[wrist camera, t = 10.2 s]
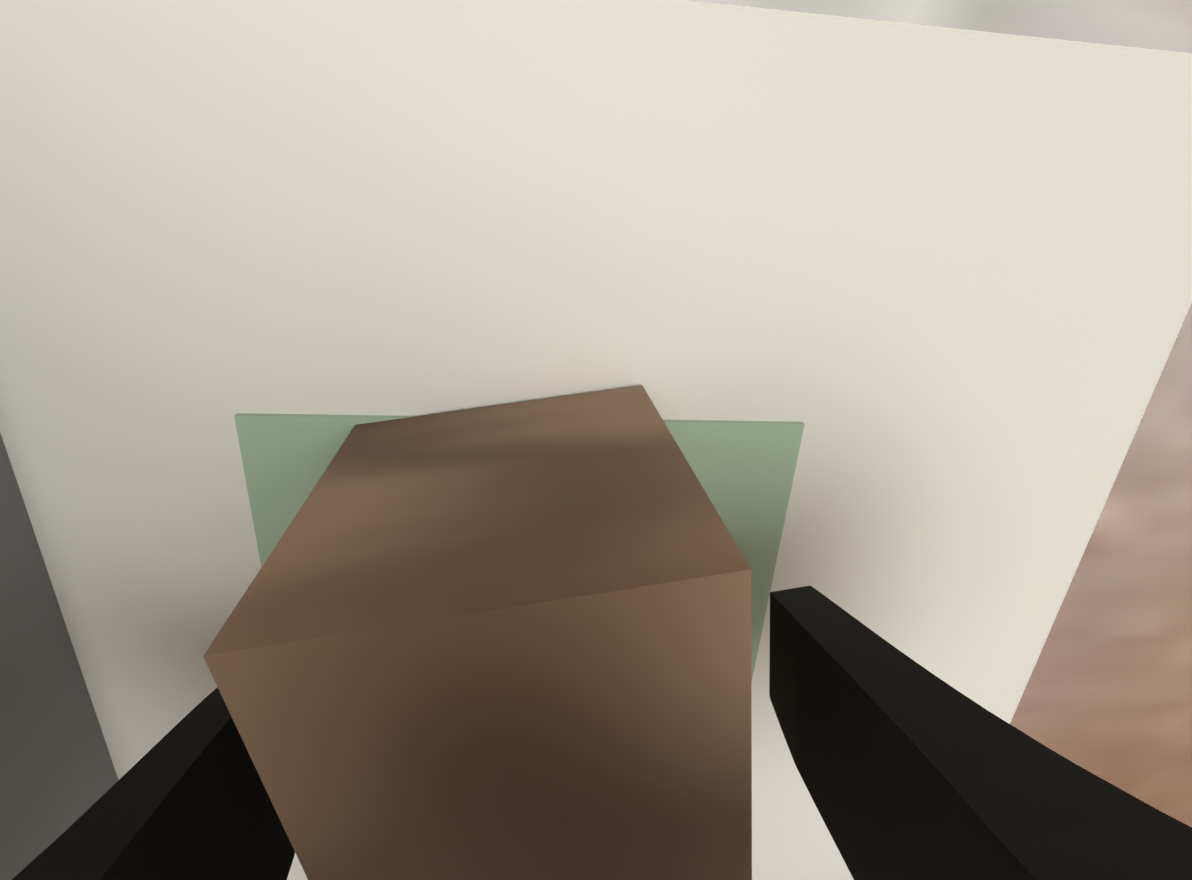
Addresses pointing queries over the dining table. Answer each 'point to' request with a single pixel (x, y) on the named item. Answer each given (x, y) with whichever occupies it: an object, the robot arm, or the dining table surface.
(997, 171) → the arena
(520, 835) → the walnut block
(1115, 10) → the dining table surface
